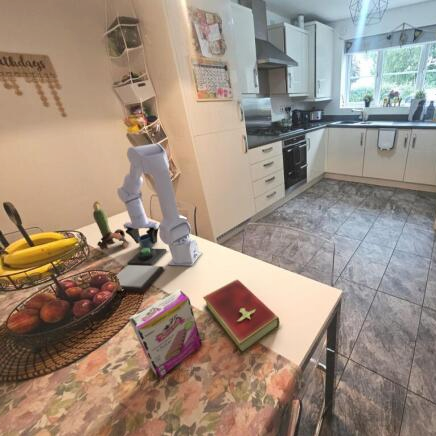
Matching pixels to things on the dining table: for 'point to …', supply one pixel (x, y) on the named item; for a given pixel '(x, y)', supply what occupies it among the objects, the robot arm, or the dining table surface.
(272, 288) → the dining table surface
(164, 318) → the candy bar box
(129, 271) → the scale
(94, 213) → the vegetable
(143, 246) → the cup
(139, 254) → the block
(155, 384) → the dining table surface
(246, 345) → the hardcover book
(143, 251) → the button
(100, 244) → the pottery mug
